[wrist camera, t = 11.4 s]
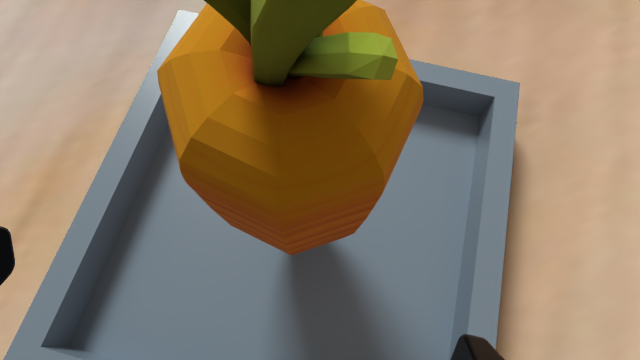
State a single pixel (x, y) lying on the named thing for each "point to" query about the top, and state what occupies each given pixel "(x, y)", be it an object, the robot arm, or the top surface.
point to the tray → (277, 266)
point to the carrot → (290, 114)
